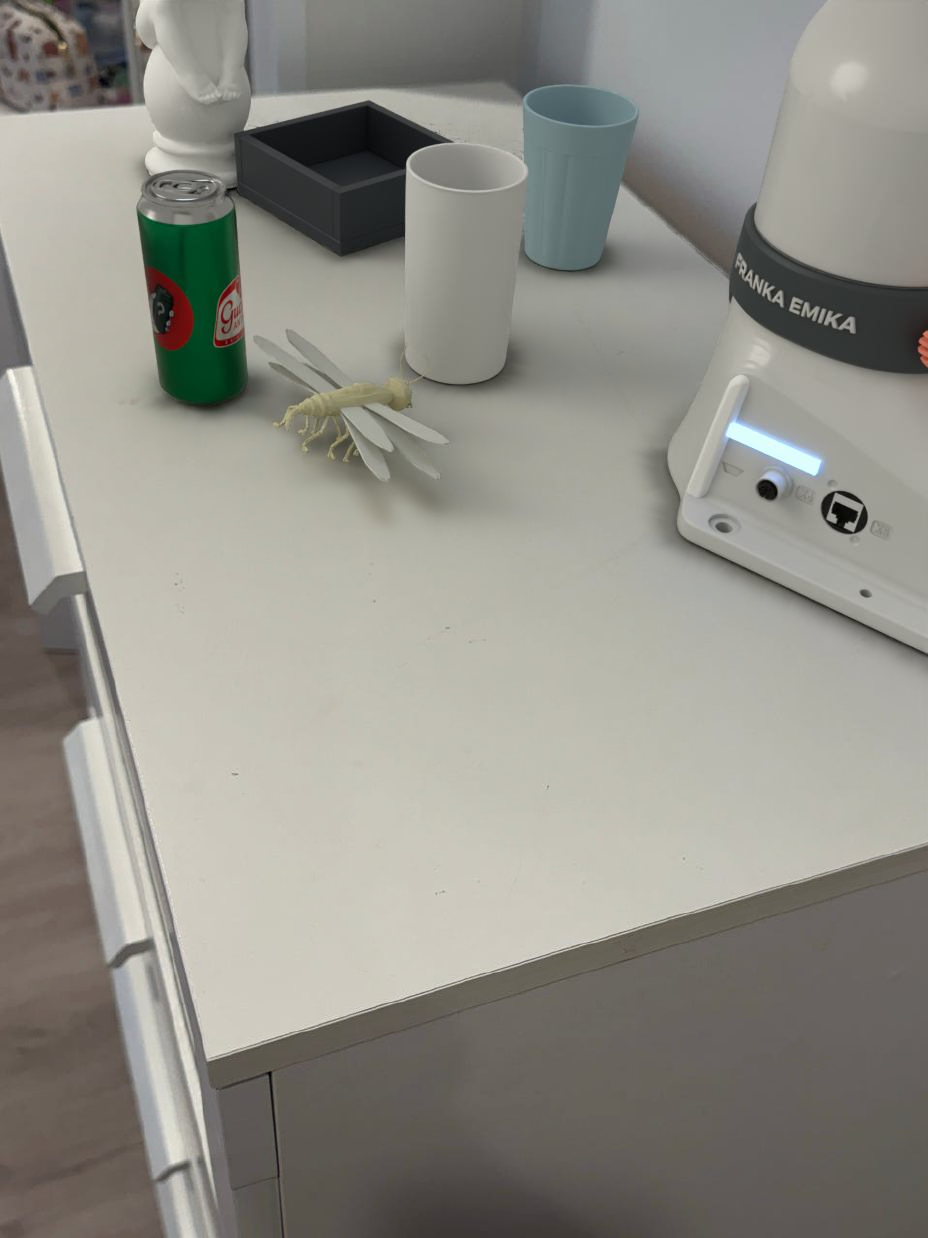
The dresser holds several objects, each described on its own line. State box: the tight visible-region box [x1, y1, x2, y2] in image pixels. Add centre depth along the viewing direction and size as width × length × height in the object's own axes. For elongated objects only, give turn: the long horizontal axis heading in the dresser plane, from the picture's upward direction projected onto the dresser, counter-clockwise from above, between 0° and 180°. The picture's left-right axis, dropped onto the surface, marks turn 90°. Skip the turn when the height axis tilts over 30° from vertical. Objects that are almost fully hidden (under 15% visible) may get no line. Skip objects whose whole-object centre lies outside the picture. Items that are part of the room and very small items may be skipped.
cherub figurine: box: [135, 0, 252, 190], centre depth 84 cm, size 12×12×22 cm
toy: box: [252, 328, 451, 483], centre depth 63 cm, size 15×9×5 cm, turn 39°
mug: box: [404, 142, 528, 385], centre depth 70 cm, size 10×7×12 cm, turn 5°
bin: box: [234, 99, 456, 257], centre depth 87 cm, size 13×13×4 cm
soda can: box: [135, 170, 249, 407], centre depth 65 cm, size 5×5×12 cm
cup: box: [522, 84, 640, 271], centre depth 81 cm, size 8×8×10 cm
